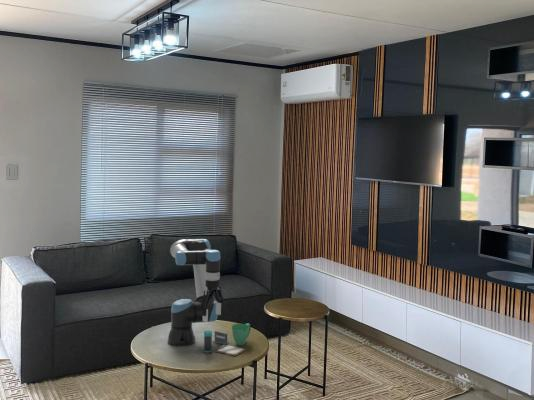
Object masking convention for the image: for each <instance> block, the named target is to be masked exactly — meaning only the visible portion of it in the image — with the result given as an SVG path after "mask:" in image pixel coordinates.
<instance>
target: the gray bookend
mask: <svg viewBox="0 0 534 400" xmlns="http://www.w3.org/2000/svg"><path fill="white" fill-rule="evenodd" d="M212 343H216V344H219V345H229V344H230V343H229V341H228V333H226V332H223V331H217V330H215V331H214V340H213V341H212Z"/></svg>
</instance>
